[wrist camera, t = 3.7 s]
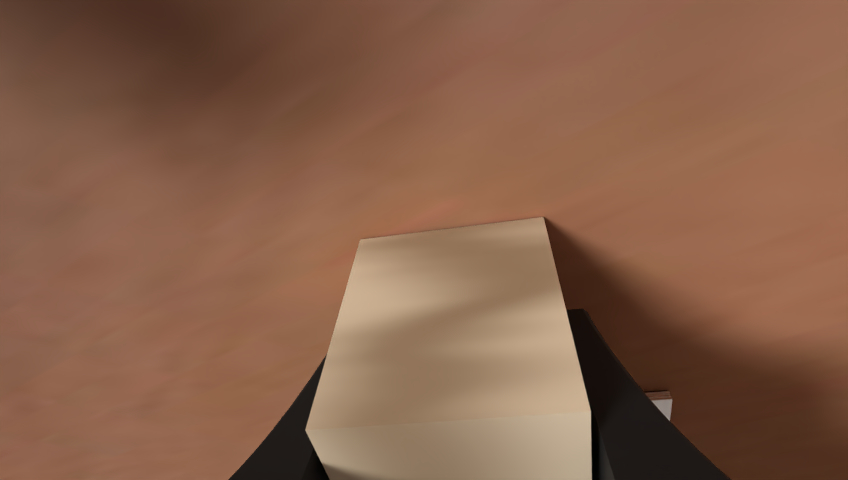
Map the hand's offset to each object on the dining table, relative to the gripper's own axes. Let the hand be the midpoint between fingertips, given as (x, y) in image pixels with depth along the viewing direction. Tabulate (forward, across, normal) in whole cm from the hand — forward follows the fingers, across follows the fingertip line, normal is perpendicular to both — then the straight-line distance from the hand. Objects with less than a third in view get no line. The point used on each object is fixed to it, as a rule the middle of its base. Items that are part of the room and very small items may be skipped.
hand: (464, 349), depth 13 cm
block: (+2, 0, 0) cm, 2 cm away
